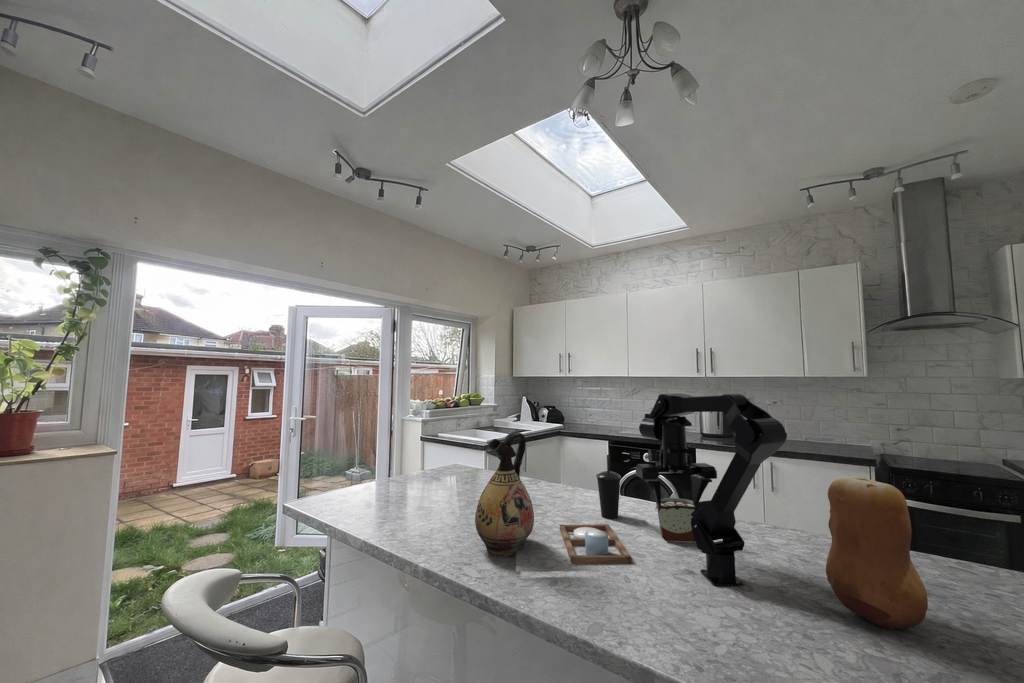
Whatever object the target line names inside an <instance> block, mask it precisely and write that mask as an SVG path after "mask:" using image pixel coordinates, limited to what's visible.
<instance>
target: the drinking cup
mask: <svg viewBox="0 0 1024 683" xmlns="http://www.w3.org/2000/svg"><path fill="white" fill-rule="evenodd" d="M606 467H607V468H606V469H607V470H605V471H601V472H599V473H597V474H595V478H596V479H597V487H598V497H599V504H600V516H601V517H602V518H603V519H606V520H616V519H618V517H619V508H620V507H619V505H620V502H619V501H620V489H621V488H620V486H621V485H620V484H621V478H622V476H621V475H620V474H619V473H618V472H614V471H611V470H610V455H609V454H606Z"/></svg>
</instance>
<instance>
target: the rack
mask: <svg viewBox="0 0 1024 683" xmlns="http://www.w3.org/2000/svg"><path fill="white" fill-rule="evenodd" d="M580 527H591V528H596V529H598V530H601V531H604V532H606V533H607V534H608V546H615V548H616V549H617V551H618V553H619V554H608V555H586V554H584V555H583V554H582V555H581V554H579V555H576V551H575V550H574V548H573V547H574V546H577V547H578V546H579V547H581V546H585V539H576V538H569V537H570V536H571V535H573V536H574V533H568V532H574V530H575V529H577V528H580ZM559 531H560V534H561V537H562V540H563V543H564V547H565V549H566V552H567V554H568V557H569V560H570V563H571V565H573V564H577V565H578V564H579V565H580V564H632V556H631V555H630V553H629V552H628V550H627V549H626V547H625V546H624V545H623V543H622V541H621V540H620V539H619V537H618V535H616V533H615V532H614V530H613V528H612V527H611V526H610V525H609V524H607V523H606V524H605V523H603V524H602V523H601V524H600V523H599V524H597V523H596V524H559Z"/></svg>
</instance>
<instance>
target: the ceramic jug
mask: <svg viewBox="0 0 1024 683" xmlns="http://www.w3.org/2000/svg"><path fill="white" fill-rule="evenodd" d="M513 441H517V442H518V446H517V450H516V452H515V450H514V448H513V446H512V442H513ZM526 442H527V441H526V437H525V435H524V434H523V433H522V432H519V431H514V432H513V431H512V432H510V433H508V434H507V435H506V436H505V438H504V441H500V439H498V438H497V439H496V438H494V439H492V440H490V442H488V444H487V445H486V447H485V453H486V454H488V455H491V456H493V457H495V458H497V459H498V460H500V461H499V465H498V467H497V469H496V471H495V472H494V473H493V475H492V476H491V478H490V479H489V481H488V482H487V484H486V486H485V487H484V489H483V491H482V493H480V494H481V495H480V497H479V499H478V502H477V506H476V512H475V516H474V517H475V518H474V522H475V530H476V532H477V534H478V536H479V538H480V539H481V541H482V543H483V544H484V545H485V550H486V549H487V550H486V552H487V551H488V552H489V553H488V552H487V553H488V554H492V555H494V554H495V556H498V555H508V556H510V555H511V556H512V555H515V554H516V551H517V550H519V549H521V548H522V547H523V544H524V542H525V541H526V540H527V539H528V537H529V536H530V535H531V533H532V531H533V530H534V524H535V513H534V507H533V503H532V500H531V497H530V494H529V492H528V490H527V488H526V486H525V485H524V482H523V481H522V480H521V475H520V474H521V465H522V464H523V458H524V455H525V451H526V446H527V443H526ZM514 457H515V459H514V461H513V460H512V458H514Z"/></svg>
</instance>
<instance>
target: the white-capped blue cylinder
mask: <svg viewBox="0 0 1024 683" xmlns="http://www.w3.org/2000/svg"><path fill="white" fill-rule="evenodd" d="M608 538H609V536H608V534H607V533H606V531H601V530H589V531H586V532H585V547H584V553H585V554H584V555H609V545H608Z"/></svg>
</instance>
